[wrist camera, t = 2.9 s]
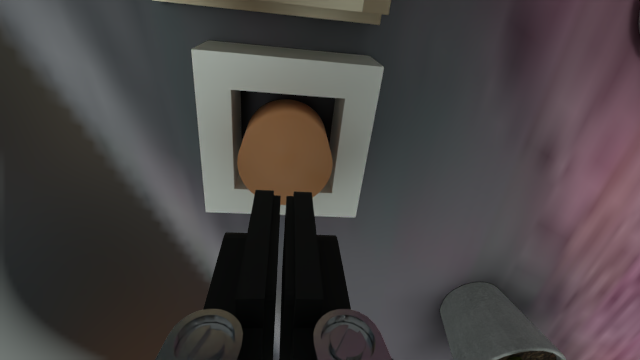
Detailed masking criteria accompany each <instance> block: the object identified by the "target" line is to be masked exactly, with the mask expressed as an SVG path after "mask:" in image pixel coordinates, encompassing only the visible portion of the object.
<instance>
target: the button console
mask: <svg viewBox="0 0 640 360" xmlns="http://www.w3.org/2000/svg"><path fill="white" fill-rule="evenodd" d="M191 53H192V64H193V75H194V86H195V98H196V109H197V120H198V131H199V142H200V153H201V164H202V175H203V186H204V197H205V209H206V212H217V213H245V214H251V212H252V206H253V201H254V194H253V193H252V192H251V191H250V190H249V189H248V188H247V187H246V186H245V185H244V183H243V181H242V180H241V177H240V175H239V171H238V165H237V159H238V153H239V150H240V147H241V144H242V129H241V91H254V92H266V93H279V94H291V95H304V96H316V97H329V98H335V103H334V111H333V119H332V127H331V135H330V143H329V146H330V150H331V155H332V161H333V165H332V172H331V176H330V178H329V180H328V182H327V184H326V185H325V187H324V188H323V189H322V190H321V191H320V192H319V193H318V194H317V195H316V196H314V197H313V208H314V216H327V217H354V218H356V212H357V207H358V202H359V197H360V191H361V186H362V181H363V176H364V170H365V165H366V160H367V155H368V149H369V144H370V139H371V134H372V128H373V123H374V118H375V112H376V107H377V102H378V97H379V91H380V86H381V81H382V76H383V70H384V67H383V66H382V65H381V64H380V63H378V62H377V61H376V60H374V59H373V58H372V57H370V56H367V55H356V54H346V53H336V52H325V51H315V50H304V49H294V48H284V47H273V46H263V45H253V44H242V43H232V42H222V41H211V40H207V41H206V42H204V43H202V44H200V45H198V46H196V47H194V48H192V49H191ZM285 213H286V205H280V215H285Z"/></svg>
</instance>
